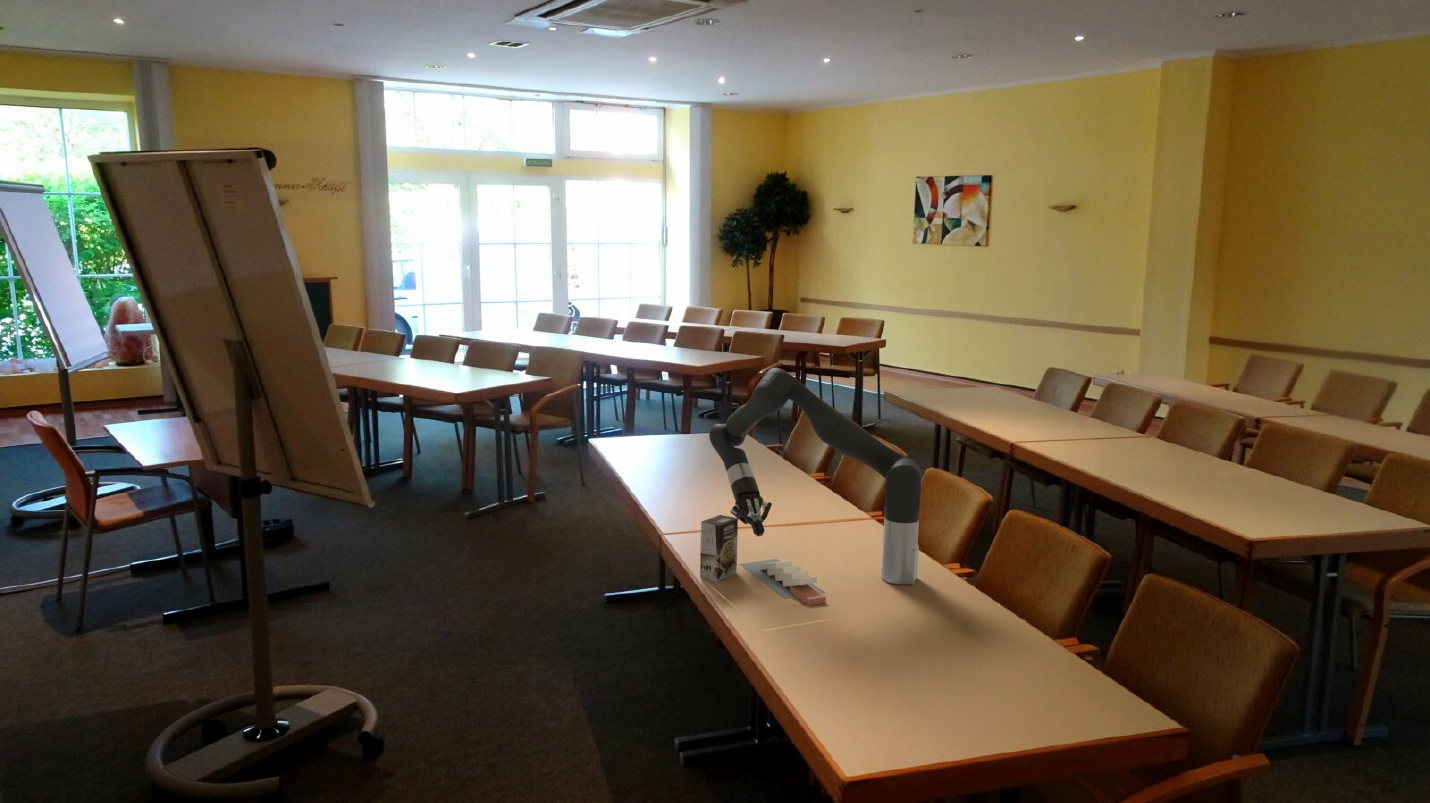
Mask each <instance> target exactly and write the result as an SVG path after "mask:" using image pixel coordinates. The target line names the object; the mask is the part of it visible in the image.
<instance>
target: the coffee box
mask: <svg viewBox="0 0 1430 803" xmlns="http://www.w3.org/2000/svg"><path fill="white" fill-rule="evenodd" d="M738 526H739V519H738V518H737V517H735V516H734V517H733V516H729V515H722V514H718V515H716V516H713V517H710V518H708V519H704V520H702V521H700V553H699V554H700V555H699V556H700V558H699V578H700V579H707V580H710V581H713V582H720V581H722V580H724V579H727V578H729V577H731V576H733V575H735V574H737V570H738V567H737V566H738V532H739V531H738Z"/></svg>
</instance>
